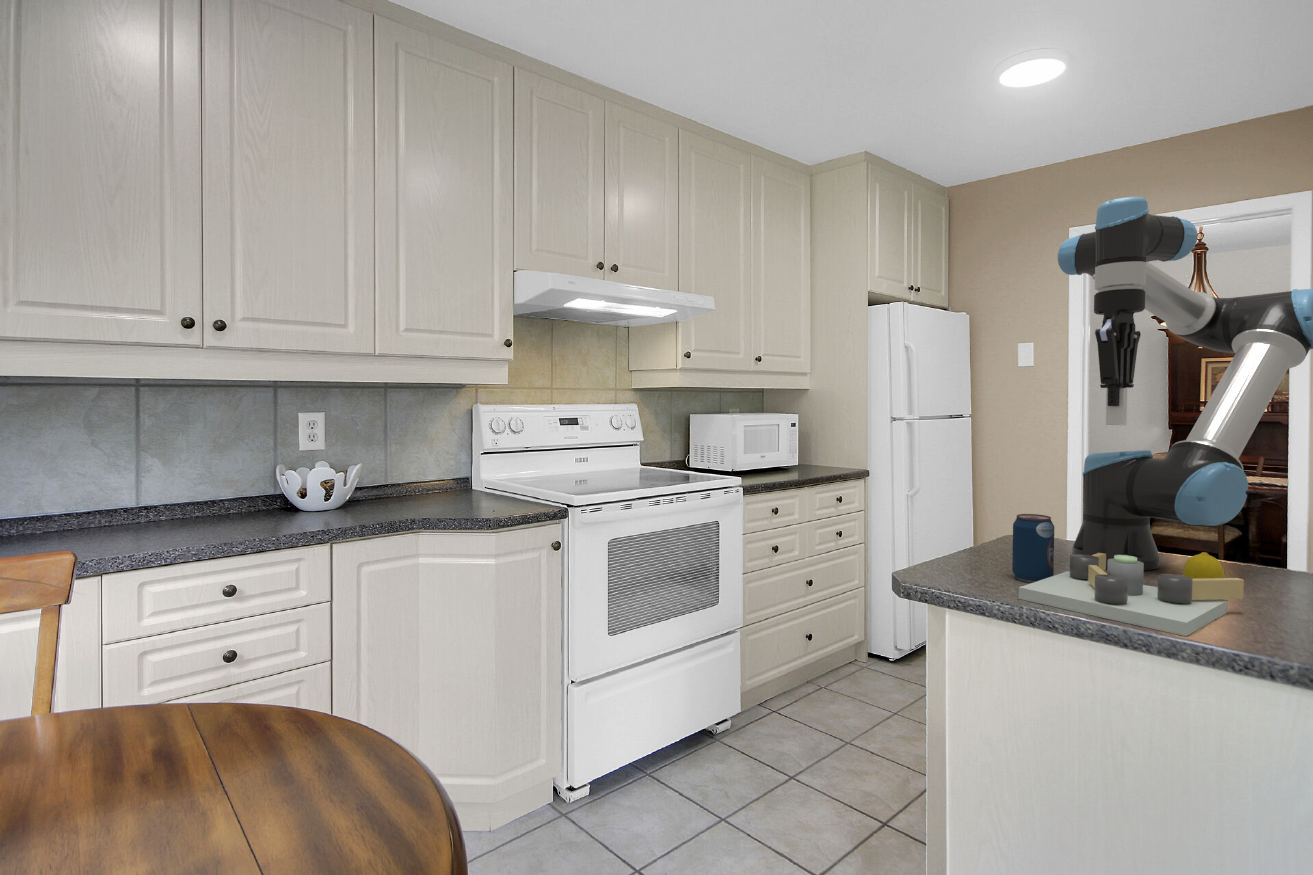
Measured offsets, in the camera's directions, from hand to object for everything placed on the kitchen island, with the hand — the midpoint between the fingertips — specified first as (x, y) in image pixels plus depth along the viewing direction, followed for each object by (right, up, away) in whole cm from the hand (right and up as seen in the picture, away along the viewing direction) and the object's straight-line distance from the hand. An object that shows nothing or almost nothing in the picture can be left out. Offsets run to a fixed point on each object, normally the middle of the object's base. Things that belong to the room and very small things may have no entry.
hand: (1115, 424), depth 125 cm
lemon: (+11, -30, -5) cm, 32 cm away
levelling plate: (-5, -30, -8) cm, 31 cm away
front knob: (-8, -28, -9) cm, 30 cm away
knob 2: (+5, -28, -13) cm, 31 cm away
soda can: (-10, -29, +9) cm, 32 cm away
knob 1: (-3, -27, +3) cm, 27 cm away
